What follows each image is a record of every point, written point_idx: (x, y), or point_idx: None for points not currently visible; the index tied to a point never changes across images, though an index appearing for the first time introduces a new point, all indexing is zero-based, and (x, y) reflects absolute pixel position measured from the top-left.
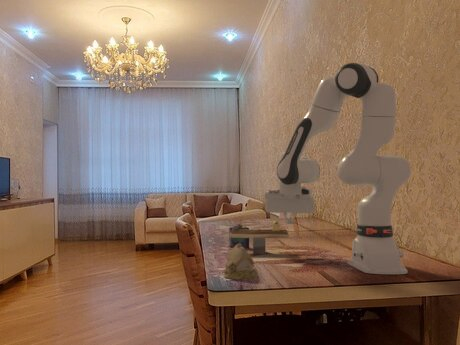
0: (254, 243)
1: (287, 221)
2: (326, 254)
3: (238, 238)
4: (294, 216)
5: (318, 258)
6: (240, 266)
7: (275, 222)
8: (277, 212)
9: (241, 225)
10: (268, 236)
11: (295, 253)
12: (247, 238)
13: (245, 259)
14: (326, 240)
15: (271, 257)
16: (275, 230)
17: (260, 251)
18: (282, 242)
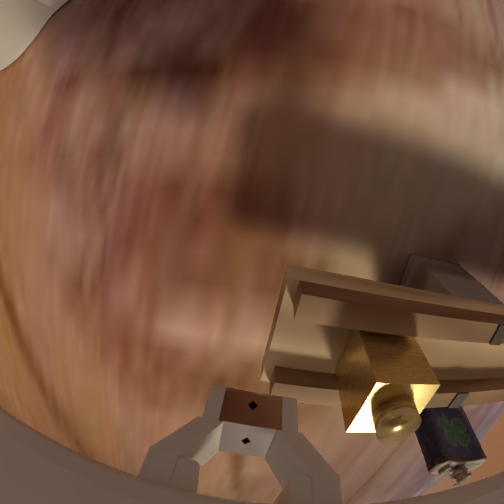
0: (482, 288)
1: (284, 411)
2: (84, 203)
3: (452, 427)
4: (179, 445)
5: (146, 91)
6: None
7: (413, 406)
8: (439, 492)
9: (451, 477)
10: (440, 298)
11: (236, 249)
12: (428, 425)
13: None
14: (88, 445)
15: (409, 149)
16: (398, 343)
17: (437, 263)
18: (233, 465)
